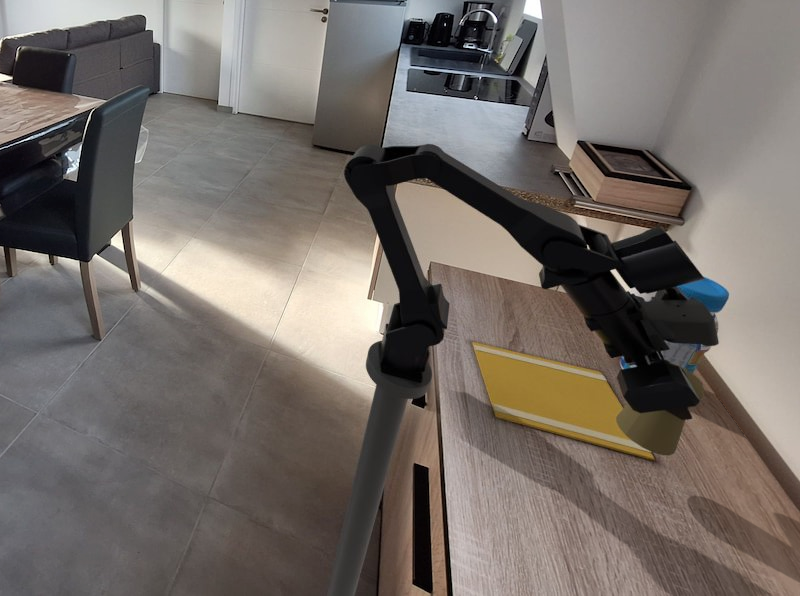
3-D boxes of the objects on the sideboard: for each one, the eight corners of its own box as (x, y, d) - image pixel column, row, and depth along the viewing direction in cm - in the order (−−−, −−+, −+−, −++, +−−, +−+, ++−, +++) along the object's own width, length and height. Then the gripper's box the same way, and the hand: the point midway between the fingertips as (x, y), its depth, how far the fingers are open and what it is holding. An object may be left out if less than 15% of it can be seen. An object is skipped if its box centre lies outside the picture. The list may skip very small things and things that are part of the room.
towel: (495, 417, 70) (496, 414, 70) (472, 343, 84) (472, 341, 84) (653, 460, 64) (655, 458, 64) (600, 373, 79) (601, 371, 79)
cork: (654, 417, 63) (688, 358, 59) (688, 460, 58) (729, 397, 54) (605, 408, 64) (636, 349, 60) (634, 449, 59) (670, 387, 55)
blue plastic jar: (631, 389, 76) (680, 292, 69) (609, 352, 83) (651, 261, 76) (695, 406, 73) (754, 307, 66) (666, 367, 81) (716, 274, 74)
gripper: (712, 329, 47) (812, 458, 46) (655, 245, 62) (729, 340, 61) (590, 354, 53) (675, 468, 52) (565, 272, 68) (631, 359, 67)
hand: (679, 402), depth 58 cm, fingers closed on cork, 5 cm apart
